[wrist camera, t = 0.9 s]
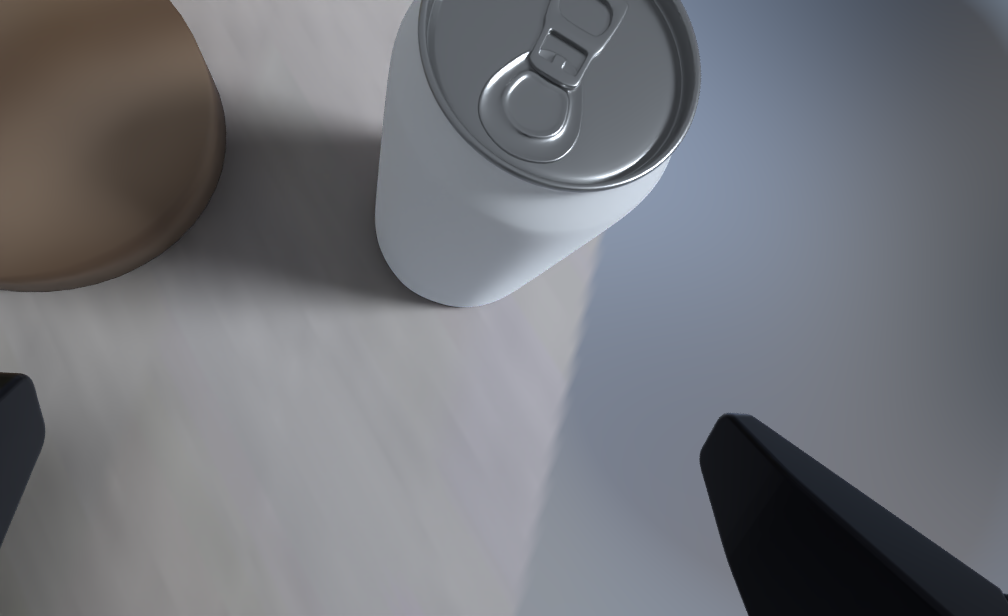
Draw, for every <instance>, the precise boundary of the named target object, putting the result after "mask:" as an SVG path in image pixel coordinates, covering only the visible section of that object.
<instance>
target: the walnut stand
mask: <svg viewBox="0 0 1008 616" xmlns="http://www.w3.org/2000/svg"><path fill="white" fill-rule="evenodd" d="M225 152H226V125H225V116H224V111H223V107H222V103H221V99H220V95H219V93H218V90H217V88H216V85H215V83H214V81H213V78H212V76H211V74H210V72H209V69H208V67H207V65H206V63H205V61H204V58H203V56H202V54H201V52H200V50H199V47H198V45H197V43H196V41H195V39H194V36H193V34H192V33H191V31H190V29H189V28H188V26H187V24H186V23H185V21H184V19H183V17H182V16H181V14H180V13H179V12H178V11H177V9H176V8H175V7H174V6H173V4H172V3H171V2H170V0H0V289H2V290H10V291H18V292H50V291H60V290H70V289H75V288H80V287H85V286H89V285H94V284H98V283H101V282H104V281H107V280H110V279H113V278H116V277H119V276H121V275H123V274H126V273H128V272H130V271H132V270H134V269H136V268H138V267H140V266H142V265H144V264H146V263H147V262H149V261H150V260H152V259H154V258H155V257H157V256H158V255H160V254H162V253H163V252H164V251H165V250H166V249H168V248H169V247H170V246H171V245H173V244H174V243H175V242H176V241H178V240H179V239H180V238H181V237H182V236H183V235H184V234H185V232H186V231H187V230H188V229H189V228H190V227H191V226H192V225H193V224H194V223H195V221H196V220H197V219H198V217H199V216H200V214H201V213H202V212H203V210H204V209H205V207H206V206H207V204H208V202H209V200H210V198H211V196H212V194H213V192H214V191H215V188H216V186H217V183H218V180H219V177H220V174H221V171H222V167H223V162H224V157H225Z"/></svg>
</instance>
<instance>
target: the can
mask: <svg viewBox="0 0 1008 616" xmlns="http://www.w3.org/2000/svg"><path fill="white" fill-rule="evenodd" d="M700 84H701V65H700V56H699V49H698V45H697V40H696V37H695V33H694V30H693V27H692V24H691V22H690V19H689V17H688V15H687V12H686V10H685V8H684V6H683V4H682V3H681V1H680V0H414V1H413V3H412V4H411V6H410V7H409V9H408V11H407V12H406V14H405V16H404V18H403V20H402V23H401V25H400V28H399V30H398V33H397V37H396V40H395V43H394V47H393V51H392V56H391V61H390V68H389V74H388V82H387V91H386V100H385V109H384V119H383V129H382V139H381V149H380V159H379V170H378V181H377V193H376V206H375V228H376V234H377V239H378V243H379V246H380V249H381V252H382V254H383V256H384V258H385V260H386V262H387V264H388V265H389V267H390V268H391V270H392V271H393V272H394V274H395V275H396V276H397V278H398V279H399V280H400V281H401V282H402V283H403V284H404V285H405V286H406V287H408V288H409V289H410V290H412V291H413V292H415V293H416V294H418V295H420V296H422V297H424V298H426V299H429V300H431V301H434V302H437V303H441V304H444V305H449V306H454V307H476V306H481V305H485V304H489V303H492V302H495V301H497V300H499V299H502V298H503V297H505V296H507V295H509V294H511V293H512V292H514V291H515V290H517V289H519V288H520V287H522V286H523V285H525V284H526V283H528V282H529V281H531V280H532V279H534V278H535V277H537V276H538V275H540V274H541V273H543V272H544V271H546V270H547V269H549V268H550V267H552V266H553V265H555V264H556V263H558V262H559V261H561V260H562V259H564V258H565V257H567V256H568V255H570V254H571V253H573V252H574V251H576V250H577V249H578V248H580V247H581V246H583V245H584V244H586V243H587V242H589V241H590V240H592V239H593V238H595V237H596V236H598V235H599V234H600V233H602V232H603V231H605V230H606V229H608V228H609V227H610V226H612V225H613V224H615V223H616V222H617V221H619V220H620V219H621V218H623V217H624V216H625V215H627V214H628V213H629V212H630V211H632V210H633V209H634V208H635V207H636V206H637V205H638V204H639V203H640V202H641V201H642V200H643V199H644V198H645V197H646V196H647V195H648V194H649V193H650V192H651V190H652V189H653V188H654V186H655V185H656V184H657V182H658V181H659V179H660V178H661V176H662V174H663V172H664V170H665V169H666V166H667V164H668V162H669V159H670V157H671V155H672V153H673V152H674V151H675V150H676V149H677V147H678V146H679V144H680V143H681V142H682V140H683V138H684V137H685V135H686V133H687V131H688V130H689V127H690V125H691V123H692V120H693V118H694V115H695V112H696V108H697V105H698V99H699V93H700Z"/></svg>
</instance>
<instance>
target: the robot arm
mask: <svg viewBox="0 0 1008 616" xmlns="http://www.w3.org/2000/svg"><path fill="white" fill-rule="evenodd" d="M44 439H45V424H44V420H43V416H42V412H41V409H40V405H39V401H38V398H37V394H36V391H35V387H34V384H33V382H32V380H31V379H30V378H29V377H28V376H27V375H24V374H20V373H3V372H0V547H1V545H2V543H3V540H4V538H5V535H6V533H7V531H8V528H9V526H10V523H11V521H12V519H13V516H14V514H15V511H16V509H17V507H18V504H19V502H20V499H21V497H22V495H23V492H24V490H25V487H26V485H27V483H28V480H29V478H30V475H31V473H32V470H33V468H34V466H35V463H36V461H37V458H38V456H39V454H40V451H41V449H42V446H43V443H44ZM700 467H701V471H702V474H703V478H704V481H705V485H706V488H707V492H708V495H709V499H710V503H711V506H712V509H713V513H714V517H715V520H716V524H717V527H718V531H719V534H720V538H721V541H722V545H723V548H724V551H725V554H726V558H727V561H728V563H729V566H730V569H731V572H732V575H733V577H734V580H735V582H736V585H737V587H738V590H739V593H740V595H741V598H742V600H743V603H744V605H745V608H746V611H747V613H748V616H1008V594H1003V593H1002V591H1001V589H1000V588H998V587H997V586H995V585H994V584H992V583H991V582H990V581H988V580H987V579H985V578H984V577H983V576H981V575H980V574H978V573H977V572H975V571H974V570H973V569H971V568H970V567H968V566H967V565H965V564H964V563H962V562H961V561H960V560H958V559H957V558H955V557H954V556H952V555H951V554H950V553H948V552H947V551H945V550H944V549H942V548H941V547H940V546H938V545H937V544H935V543H934V542H932V541H931V540H929V539H928V538H927V537H925V536H924V535H922V534H921V533H919V532H918V531H917V530H915V529H914V528H912V527H911V526H909V525H908V524H906V523H905V522H904V521H902V520H901V519H899V518H898V517H896V516H895V515H894V514H892V513H891V512H889V511H888V510H887V509H885V508H884V507H882V506H881V505H879V504H878V503H877V502H875V501H874V500H872V499H871V498H869V497H868V496H866V495H865V494H864V493H862V492H861V491H859V490H858V489H857V488H855V487H854V486H852V485H851V484H849V483H848V482H846V481H845V480H844V479H842V478H840V477H839V476H838V475H836V474H835V473H833V472H832V471H831V470H829V469H828V468H826V467H825V466H824V465H822V464H821V463H819V462H818V461H816V460H815V459H814V458H812V457H811V456H809V455H808V454H806V453H804V451H802V450H800V449H799V448H798V447H796V446H795V445H793V444H792V443H791V442H789V441H788V440H786V439H785V438H783V437H782V436H781V435H779V434H778V433H776V432H775V431H773V430H772V429H771V428H769V427H768V426H766V425H765V424H763V423H762V422H761V421H759V420H758V419H756V418H755V417H753V416H751V415H748V414H738V413H726V414H723V415H722V416H721V417H719V419H718V420H717V422H716V424H715V426H714V427H713V429H712V431H711V433H710V435H709V436H708V438H707V440H706V442H705V443H704V445H703V447H702V449H701V452H700Z"/></svg>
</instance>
